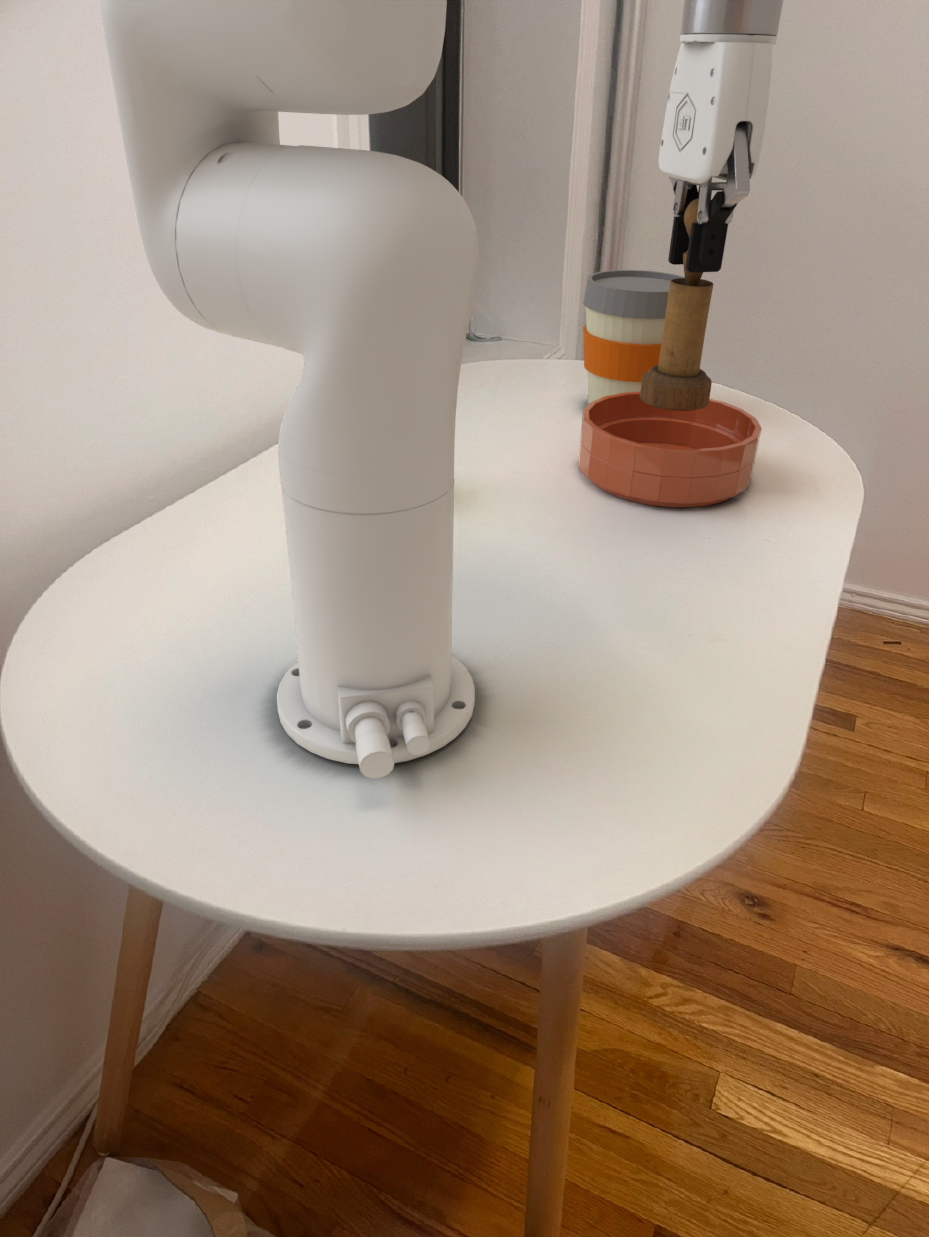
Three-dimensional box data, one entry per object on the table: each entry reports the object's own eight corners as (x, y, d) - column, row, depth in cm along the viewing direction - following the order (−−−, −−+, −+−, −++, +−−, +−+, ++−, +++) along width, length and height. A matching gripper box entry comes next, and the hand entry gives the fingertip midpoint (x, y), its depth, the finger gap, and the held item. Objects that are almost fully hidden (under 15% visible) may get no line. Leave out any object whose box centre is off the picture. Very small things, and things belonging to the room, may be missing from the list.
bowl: (781, 503, 85) (795, 444, 82) (613, 517, 81) (621, 456, 78) (701, 440, 99) (710, 387, 96) (556, 450, 96) (560, 395, 92)
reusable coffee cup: (679, 399, 111) (699, 274, 103) (675, 432, 101) (696, 296, 93) (581, 389, 114) (592, 266, 106) (566, 420, 104) (578, 287, 96)
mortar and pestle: (703, 392, 89) (737, 195, 79) (712, 414, 83) (749, 205, 74) (637, 388, 89) (662, 193, 80) (641, 410, 84) (669, 202, 74)
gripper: (645, 24, 76) (621, 252, 86) (736, 16, 62) (695, 288, 72) (725, 26, 77) (692, 250, 87) (830, 20, 64) (777, 285, 74)
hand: (693, 265), depth 80 cm, fingers closed on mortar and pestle, 2 cm apart
